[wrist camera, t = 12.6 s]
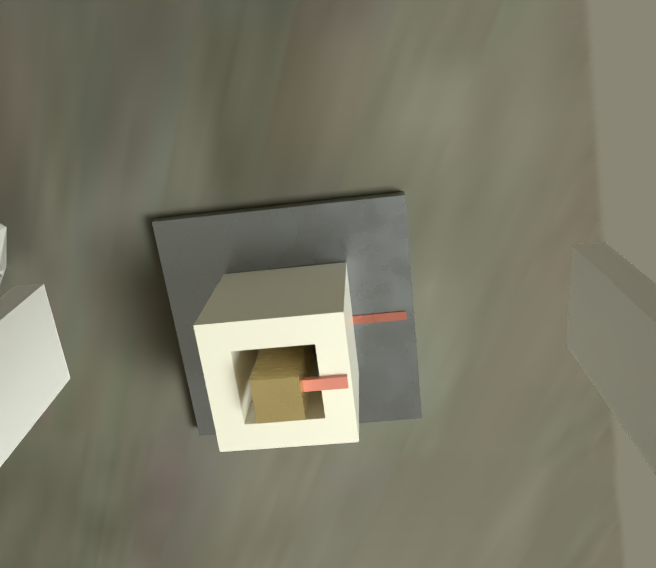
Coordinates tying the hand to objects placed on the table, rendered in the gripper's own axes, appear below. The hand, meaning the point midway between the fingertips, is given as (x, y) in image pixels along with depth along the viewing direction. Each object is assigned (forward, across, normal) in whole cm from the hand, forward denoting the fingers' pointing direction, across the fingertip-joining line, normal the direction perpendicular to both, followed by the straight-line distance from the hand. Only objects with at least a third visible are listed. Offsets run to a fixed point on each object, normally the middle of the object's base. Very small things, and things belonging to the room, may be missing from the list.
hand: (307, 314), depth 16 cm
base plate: (+24, -3, -12) cm, 27 cm away
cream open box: (+23, -4, -11) cm, 26 cm away
